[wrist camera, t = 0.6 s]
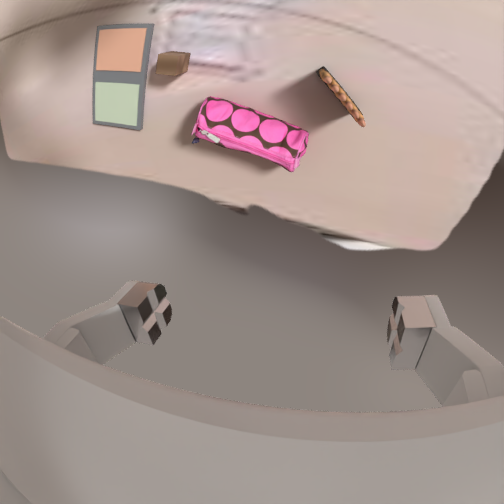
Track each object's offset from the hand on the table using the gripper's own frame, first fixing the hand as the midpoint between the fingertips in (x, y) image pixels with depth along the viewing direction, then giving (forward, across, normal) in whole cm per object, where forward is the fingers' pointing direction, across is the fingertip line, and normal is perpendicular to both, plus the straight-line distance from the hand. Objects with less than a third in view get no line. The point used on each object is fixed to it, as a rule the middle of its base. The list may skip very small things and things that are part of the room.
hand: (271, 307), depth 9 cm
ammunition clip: (+48, -5, -11) cm, 50 cm away
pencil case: (+50, +12, -5) cm, 51 cm away
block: (+44, +24, -21) cm, 54 cm away
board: (+43, +39, -22) cm, 62 cm away
